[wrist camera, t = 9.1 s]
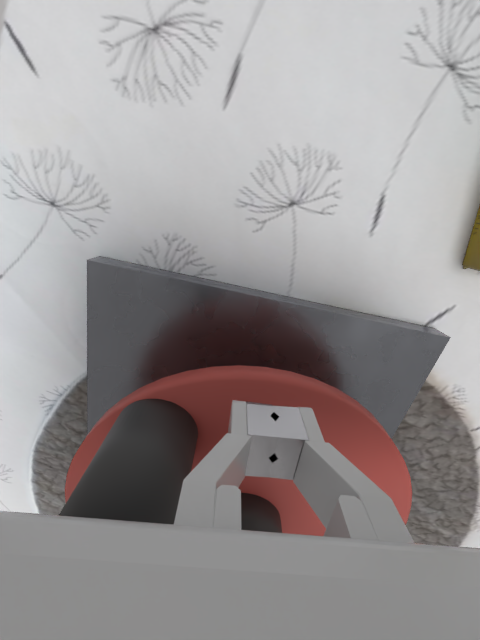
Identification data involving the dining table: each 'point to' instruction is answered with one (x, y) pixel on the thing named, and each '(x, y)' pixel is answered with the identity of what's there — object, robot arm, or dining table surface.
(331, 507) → the robot arm
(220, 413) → the handwheel
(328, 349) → the valve stand
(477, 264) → the medication box
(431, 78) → the dining table surface
